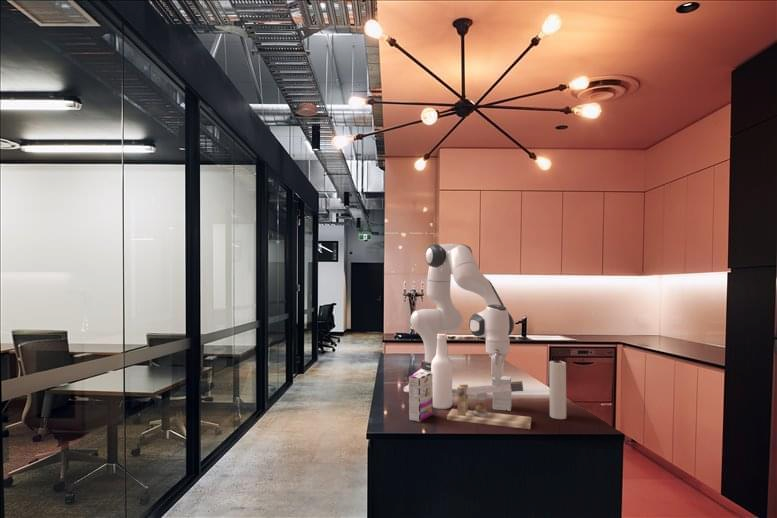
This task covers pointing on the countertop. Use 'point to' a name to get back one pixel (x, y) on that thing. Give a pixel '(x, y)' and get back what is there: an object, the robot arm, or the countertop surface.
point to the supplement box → (502, 396)
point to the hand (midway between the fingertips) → (498, 385)
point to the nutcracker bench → (486, 420)
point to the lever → (494, 389)
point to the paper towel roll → (557, 389)
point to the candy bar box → (420, 396)
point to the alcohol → (441, 375)
